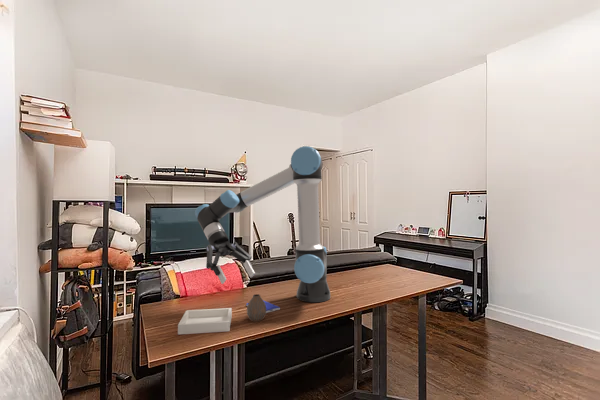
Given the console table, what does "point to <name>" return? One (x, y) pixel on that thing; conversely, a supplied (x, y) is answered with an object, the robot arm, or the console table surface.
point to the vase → (256, 308)
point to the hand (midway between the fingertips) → (239, 278)
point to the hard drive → (269, 307)
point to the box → (205, 321)
